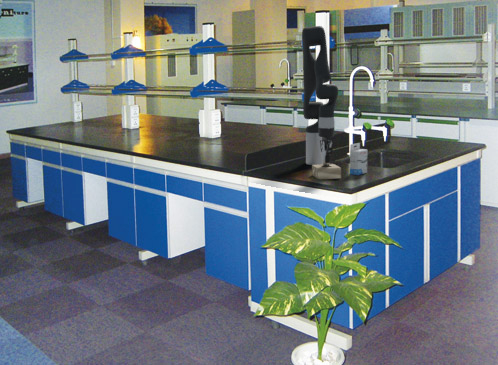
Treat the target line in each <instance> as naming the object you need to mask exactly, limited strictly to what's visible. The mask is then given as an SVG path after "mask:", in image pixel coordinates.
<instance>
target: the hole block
mask: <svg viewBox="0 0 498 365" xmlns="http://www.w3.org/2000/svg"><path fill="white" fill-rule="evenodd" d="M311 175H312V176H313V177H314V178H316V179H317V180H330V179H331V180H332V179H342V167H340V166H339V165H336V164H334V163H329V167H323V164H320V165H311Z"/></svg>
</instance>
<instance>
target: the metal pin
mask: <svg viewBox="0 0 498 365" xmlns="http://www.w3.org/2000/svg"><path fill="white" fill-rule="evenodd" d="M326 149H327V148H326ZM328 152H329V151H328ZM329 164H330V163H325V151H324V145H323V167H329Z"/></svg>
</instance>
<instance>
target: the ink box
mask: <svg viewBox="0 0 498 365" xmlns="http://www.w3.org/2000/svg"><path fill="white" fill-rule="evenodd" d="M368 152H369V151H368V149H366V148H361V143H360V142H357V143H352V144H350V151H349V175H354V176H360V175H363V174H367V173H368Z"/></svg>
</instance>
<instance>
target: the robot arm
mask: <svg viewBox="0 0 498 365" xmlns="http://www.w3.org/2000/svg"><path fill="white" fill-rule="evenodd" d="M326 36H327V35H326V31H325V28H324V27H323V26H322V25H317V26H316V25H315V26H307V27H303V29H302V32H301V41H302V52H303V53H302V55H303V63H302V64H303V69H302V71H303V72H302V73H303V74H302V78H303V80H302V81H303V106H302V107H303V108H302V110H303V113H302V114H303V118H304V119H306V120H316V122H314V123H313V124H311V125H307V126H306V127H305V164H306V165H308V166H309V165H310V166H312V165H322V164H323V145H324V151H325V163H329V164H331V155H332V154H333V146H334V143H333V142H332V139H331V138H333V137H334V136H335V125H336V124H335V123H336V122H335V106H336V103H337V100H338V99H337V98H338V95H339V88H338V86H337V85H336V84H335V83H328V82H330V81H331V79H332V75H331V70H330V65H329V59H328V58H329V57H328V46H327V45H328V44H327V37H326ZM317 46H319V53H318V55H317V56H316V59H315V57H314V56H313V54H312V52H311V49H310V47H317ZM314 93H315V96H316V98H317V99H318V100H328V101H327V102H326V103H323V102H322V101H311V99H312V97H313V95H314ZM326 148H327V149H326ZM328 151H329V152H328Z"/></svg>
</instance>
